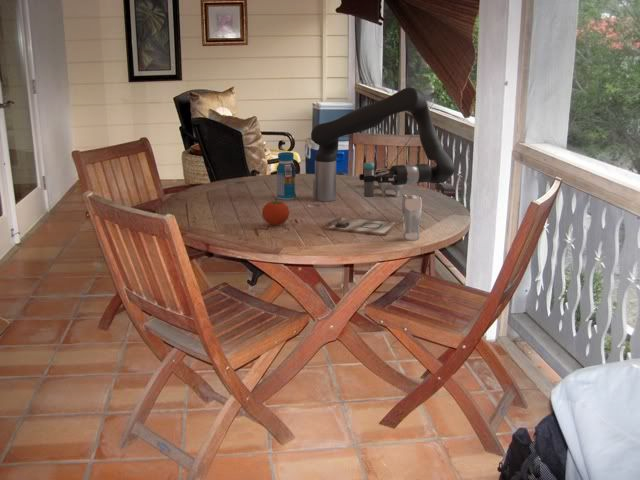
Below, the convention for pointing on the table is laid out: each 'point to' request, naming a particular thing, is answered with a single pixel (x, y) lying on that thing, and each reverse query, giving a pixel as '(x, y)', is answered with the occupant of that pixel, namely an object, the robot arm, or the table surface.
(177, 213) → the table surface
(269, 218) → the tomato
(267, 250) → the table surface
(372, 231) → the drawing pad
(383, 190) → the dog figurine
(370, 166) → the marker
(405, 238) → the beer glass
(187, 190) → the table surface
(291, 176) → the beverage bottle
